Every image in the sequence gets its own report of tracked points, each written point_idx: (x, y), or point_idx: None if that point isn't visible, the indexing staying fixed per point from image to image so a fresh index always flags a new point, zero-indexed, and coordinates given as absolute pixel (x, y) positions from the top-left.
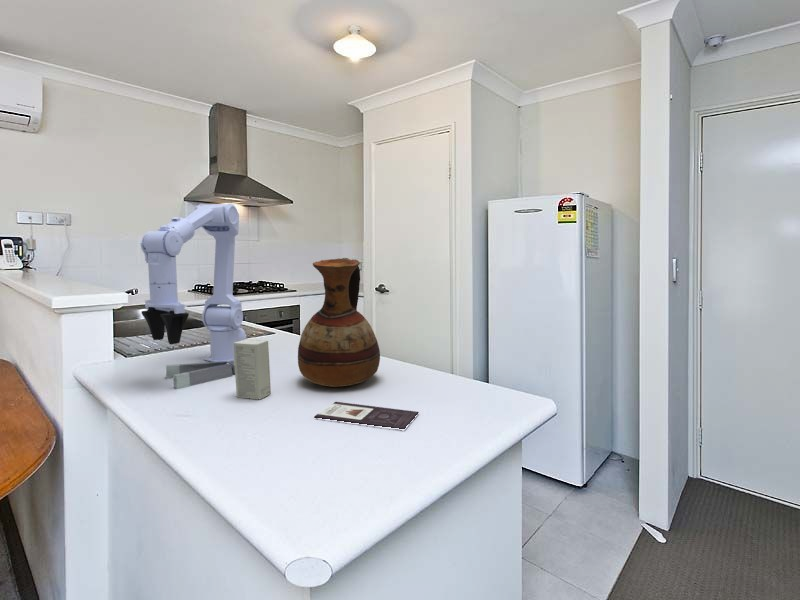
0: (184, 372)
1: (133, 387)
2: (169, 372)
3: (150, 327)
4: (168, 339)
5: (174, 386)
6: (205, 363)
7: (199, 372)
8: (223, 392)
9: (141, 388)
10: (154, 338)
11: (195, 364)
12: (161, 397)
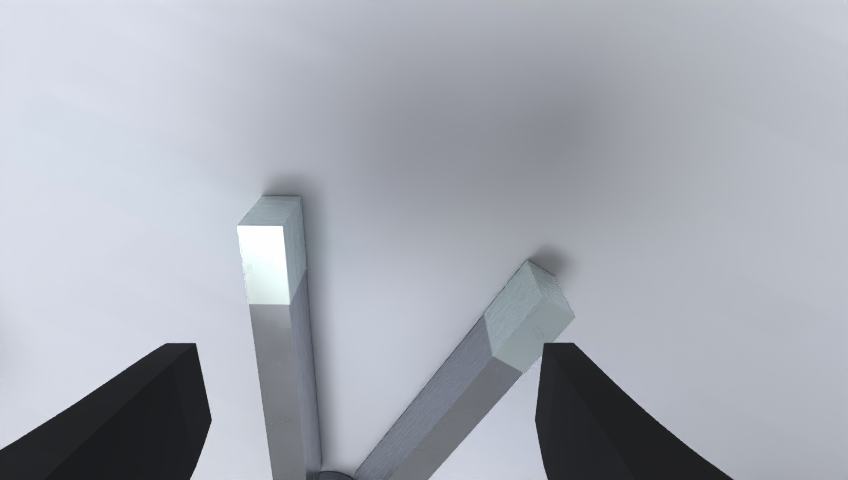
0: (472, 346)
1: (505, 41)
2: (522, 290)
3: (626, 434)
4: (153, 367)
5: (288, 199)
6: (411, 458)
7: (258, 356)
8: (28, 310)
9: (440, 65)
10: (550, 355)
11: (440, 419)
12: (149, 55)
